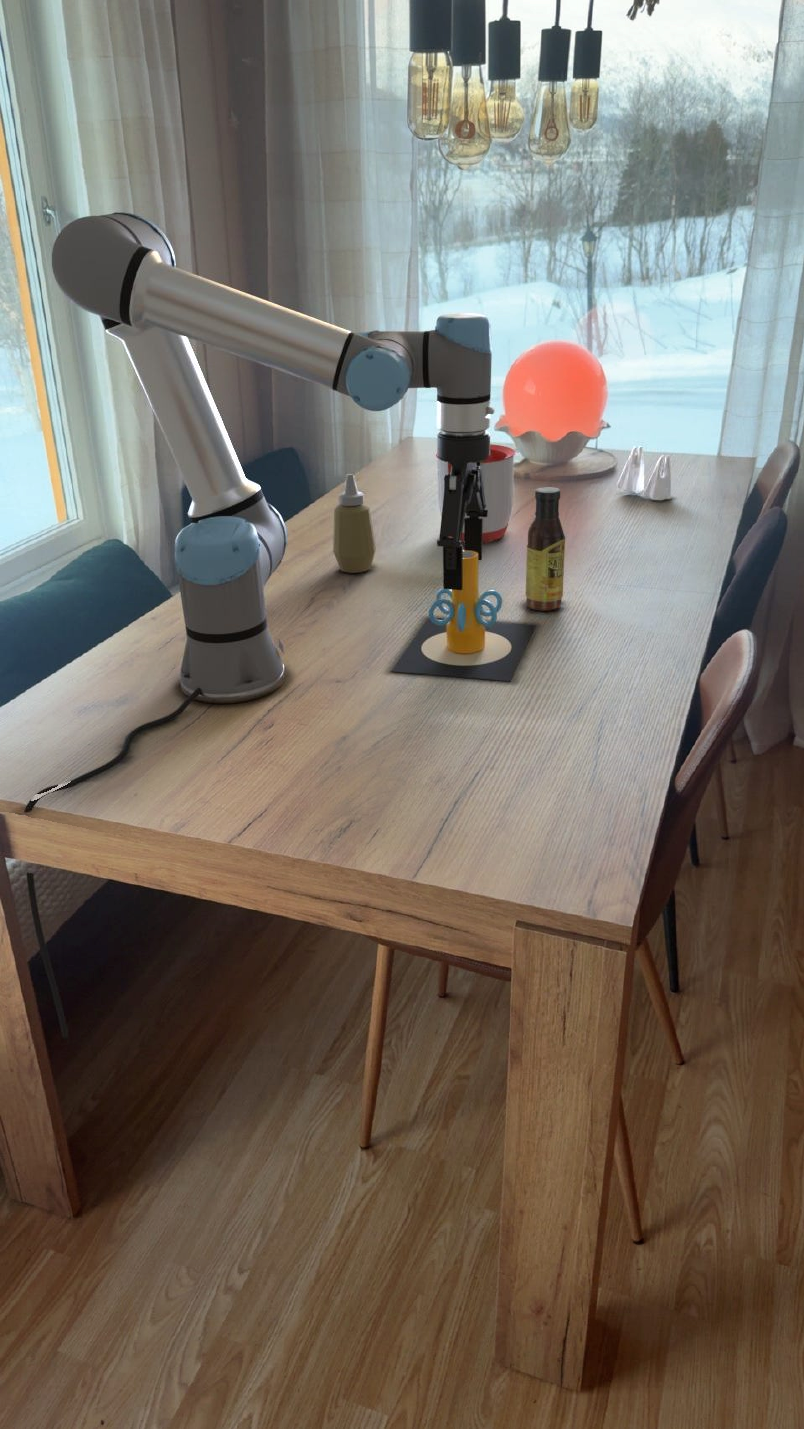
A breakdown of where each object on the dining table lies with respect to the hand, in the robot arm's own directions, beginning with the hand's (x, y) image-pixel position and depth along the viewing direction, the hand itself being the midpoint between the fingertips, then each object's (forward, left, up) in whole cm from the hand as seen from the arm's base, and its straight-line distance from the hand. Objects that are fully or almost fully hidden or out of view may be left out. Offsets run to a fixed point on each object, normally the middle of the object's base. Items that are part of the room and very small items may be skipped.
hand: (463, 573), depth 159 cm
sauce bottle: (+20, -9, -12) cm, 25 cm away
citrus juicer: (+56, +11, -12) cm, 58 cm away
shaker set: (+91, -20, -12) cm, 94 cm away
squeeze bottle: (+33, +29, -12) cm, 45 cm away
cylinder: (0, 0, -12) cm, 12 cm away
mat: (0, 0, -12) cm, 12 cm away
